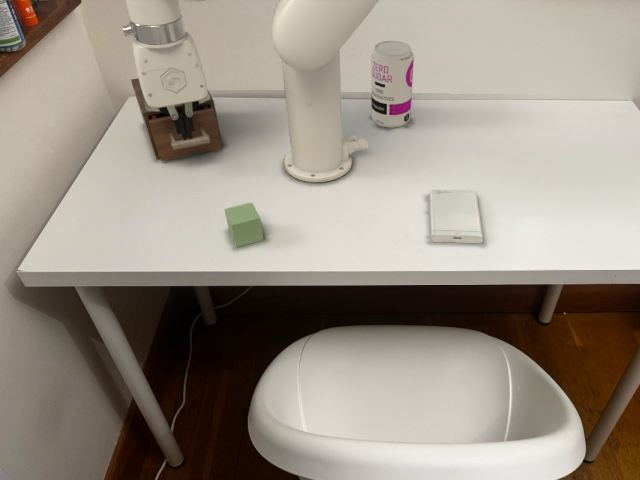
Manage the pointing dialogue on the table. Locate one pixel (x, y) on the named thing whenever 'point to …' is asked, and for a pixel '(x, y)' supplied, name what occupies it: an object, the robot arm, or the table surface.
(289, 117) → the robot arm
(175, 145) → the drawer
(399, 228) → the table surface
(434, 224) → the hard drive
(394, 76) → the white soda can
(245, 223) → the block
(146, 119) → the cabinet
